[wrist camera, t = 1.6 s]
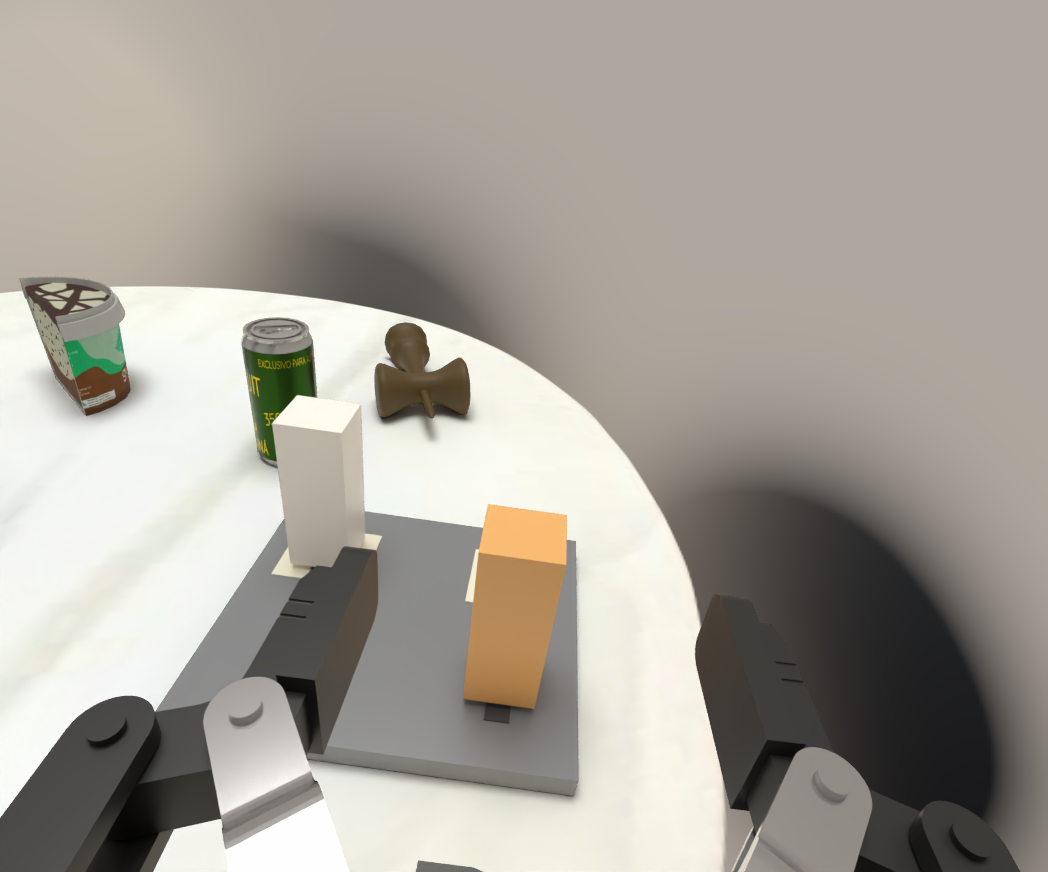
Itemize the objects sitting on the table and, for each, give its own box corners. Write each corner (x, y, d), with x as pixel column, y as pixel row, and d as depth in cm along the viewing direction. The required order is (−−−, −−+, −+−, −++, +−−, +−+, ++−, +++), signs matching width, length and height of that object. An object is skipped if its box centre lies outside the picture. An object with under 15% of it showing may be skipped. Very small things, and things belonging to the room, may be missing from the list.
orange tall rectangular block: (534, 708, 31) (566, 564, 26) (462, 698, 31) (478, 552, 26) (537, 655, 34) (566, 515, 29) (472, 645, 34) (488, 504, 29)
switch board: (573, 796, 30) (578, 779, 29) (155, 737, 30) (148, 720, 29) (572, 555, 45) (575, 540, 44) (297, 516, 45) (295, 500, 44)
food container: (164, 403, 56) (140, 306, 51) (91, 422, 52) (57, 319, 47) (119, 358, 63) (94, 268, 57) (51, 372, 59) (17, 276, 53)
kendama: (443, 360, 74) (479, 439, 58) (366, 363, 71) (382, 448, 55) (443, 316, 71) (482, 386, 55) (363, 317, 68) (379, 392, 52)
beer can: (312, 431, 55) (302, 313, 49) (328, 461, 52) (319, 337, 45) (252, 443, 52) (233, 319, 46) (265, 474, 49) (246, 345, 42)
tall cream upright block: (349, 571, 38) (341, 433, 32) (290, 563, 38) (271, 423, 32) (365, 536, 41) (360, 404, 35) (310, 528, 41) (297, 395, 35)
